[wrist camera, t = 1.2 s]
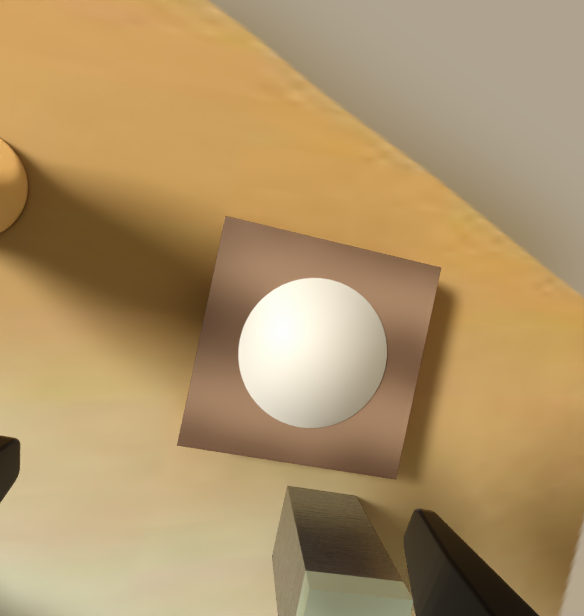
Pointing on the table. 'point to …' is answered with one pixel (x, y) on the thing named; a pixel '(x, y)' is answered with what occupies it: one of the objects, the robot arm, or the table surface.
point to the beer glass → (11, 186)
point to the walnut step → (308, 351)
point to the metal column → (333, 560)
